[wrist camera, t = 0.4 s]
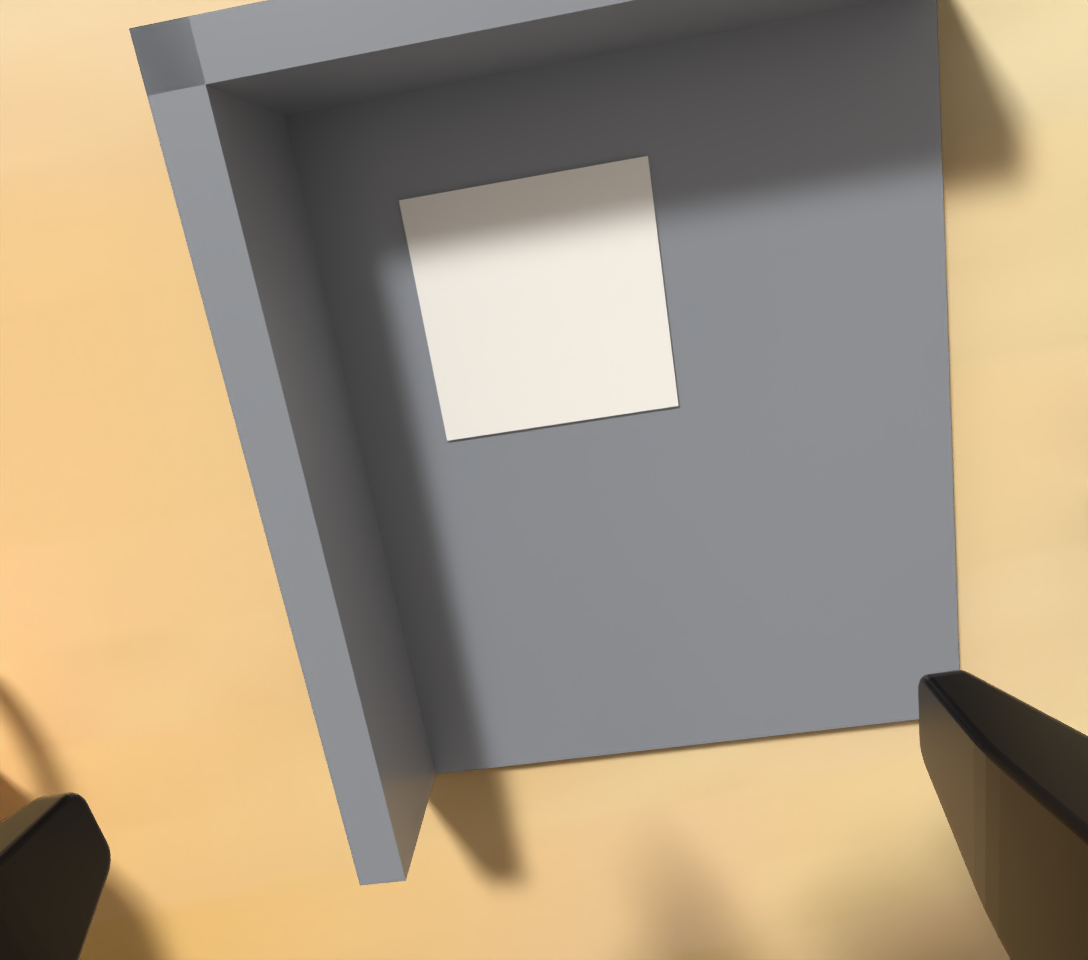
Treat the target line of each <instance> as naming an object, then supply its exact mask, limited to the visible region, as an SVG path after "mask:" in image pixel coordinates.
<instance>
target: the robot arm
mask: <svg viewBox="0 0 1088 960" xmlns="http://www.w3.org/2000/svg"><path fill="white" fill-rule="evenodd" d="M918 704H919V734H920V747H921V752H922V756H923V760H924V763H925V766H926V768H927V771H928V773H929V776H930V778H931V781H932V783H933V786H934V788H935V790H936V793H937V795H938V798H939V800H940V803H941V805H942V808H943V810H944V812H945V815H946V817H947V820H948V822H949V825H950V827H951V830H952V832H953V834H954V837H955V839H956V842H957V844H958V847H959V849H960V852H961V854H962V857H963V859H964V861H965V864H966V866H967V869H968V871H969V874H970V876H971V879H972V881H973V883H974V886H975V888H976V891H977V893H978V895H979V897H980V900H981V902H982V904H983V907H984V909H985V911H986V913H987V915H988V917H989V919H990V921H991V923H992V925H993V927H994V929H995V931H996V933H997V935H998V937H999V939H1000V941H1001V942H1002V944H1003V946H1004V948H1005V950H1006V952H1007V954H1008V955H1009V957H1010V959H1011V960H1088V736H1087V735H1085V734H1083V733H1081V732H1079V731H1077V730H1075V729H1073V728H1072V727H1070V726H1068V725H1066V724H1064V723H1062V722H1060V721H1059V720H1057V719H1055V718H1053V717H1051V716H1049V715H1047V714H1045V713H1044V712H1042V711H1040V710H1038V709H1036V708H1034V707H1032V706H1030V705H1029V704H1027V703H1025V702H1023V701H1021V700H1019V699H1017V698H1015V697H1014V696H1012V695H1010V694H1008V693H1006V692H1004V691H1002V690H1000V689H999V688H997V687H995V686H993V685H991V684H989V683H987V682H986V681H984V680H982V679H980V678H978V677H976V676H974V675H972V674H971V673H968V672H966V671H963V670H954V671H947V672H940V673H933V674H926V675H924V676H923V677H922V678H921V679H920V681H919V685H918ZM110 862H111V858H110V849H109V846H108V843H107V841H106V839H105V837H104V835H103V833H102V832H101V830H100V828H99V826H98V824H97V822H96V820H95V818H94V816H93V814H92V812H91V810H90V808H89V806H88V804H87V802H86V801H85V799H84V798H83V797H81V796H80V795H79V794H76V793H64V794H57V795H49V796H44V797H40V798H37V799H35V800H34V801H32V802H30V803H29V804H27V805H26V806H24V807H23V808H21V809H20V810H18V811H17V812H15V813H14V814H12V815H11V816H9V817H8V818H6V819H5V820H3V821H2V822H0V960H79V957H80V954H81V951H82V948H83V945H84V942H85V939H86V936H87V934H88V931H89V928H90V925H91V922H92V919H93V916H94V913H95V910H96V907H97V905H98V902H99V899H100V896H101V893H102V890H103V887H104V884H105V881H106V878H107V876H108V872H109V869H110Z"/></svg>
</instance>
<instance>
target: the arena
mask: <svg viewBox="0 0 1088 960" xmlns="http://www.w3.org/2000/svg"><path fill="white" fill-rule="evenodd" d="M129 30H130V34H131V37H132V41H133V45H134V48H135V52H136V56H137V60H138V63H139V67H140V71H141V74H142V78H143V82H144V85H145V89H146V93H147V97H148V100H149V104H150V108H151V111H152V115H153V119H154V123H155V126H156V130H157V134H158V137H159V141H160V145H161V149H162V152H163V156H164V160H165V163H166V167H167V171H168V175H169V178H170V182H171V186H172V189H173V193H174V197H175V201H176V204H177V208H178V212H179V215H180V219H181V223H182V226H183V230H184V234H185V238H186V241H187V245H188V249H189V252H190V256H191V260H192V264H193V267H194V271H195V275H196V278H197V282H198V286H199V290H200V293H201V297H202V301H203V304H204V308H205V312H206V316H207V319H208V323H209V327H210V330H211V334H212V338H213V341H214V345H215V349H216V353H217V356H218V360H219V364H220V367H221V371H222V375H223V379H224V382H225V386H226V390H227V393H228V397H229V401H230V405H231V408H232V412H233V416H234V419H235V423H236V427H237V431H238V434H239V438H240V442H241V445H242V449H243V453H244V457H245V460H246V464H247V468H248V471H249V475H250V479H251V482H252V486H253V490H254V494H255V497H256V501H257V505H258V508H259V512H260V516H261V520H262V523H263V527H264V531H265V534H266V538H267V542H268V546H269V549H270V553H271V557H272V560H273V564H274V568H275V572H276V575H277V579H278V583H279V586H280V590H281V594H282V597H283V601H284V605H285V609H286V612H287V616H288V620H289V623H290V627H291V631H292V635H293V638H294V642H295V646H296V649H297V653H298V657H299V661H300V664H301V668H302V672H303V675H304V679H305V683H306V687H307V690H308V694H309V698H310V701H311V705H312V709H313V713H314V716H315V720H316V724H317V727H318V731H319V735H320V738H321V742H322V746H323V750H324V753H325V757H326V761H327V764H328V768H329V772H330V776H331V779H332V783H333V787H334V790H335V794H336V798H337V802H338V805H339V809H340V813H341V816H342V820H343V824H344V828H345V831H346V835H347V839H348V842H349V846H350V850H351V854H352V857H353V861H354V865H355V868H356V872H357V876H358V879H359V883H360V885H368V884H378V883H388V882H398V881H406V878H407V874H408V871H409V867H410V864H411V860H412V856H413V853H414V849H415V846H416V842H417V839H418V835H419V832H420V828H421V824H422V821H423V817H424V814H425V810H426V807H427V803H428V799H429V796H430V792H431V789H432V785H433V782H434V778H435V775H436V774H442V773H450V772H459V771H468V770H477V769H486V768H494V767H503V766H512V765H521V764H530V763H538V762H547V761H556V760H565V759H574V758H582V757H591V756H600V755H609V754H618V753H626V752H635V751H644V750H653V749H662V748H670V747H679V746H688V745H697V744H706V743H714V742H723V741H732V740H741V739H750V738H758V737H767V736H776V735H785V734H794V733H802V732H811V731H820V730H829V729H837V728H846V727H855V726H864V725H873V724H881V723H890V722H899V721H908V720H917V719H919V704H918V685H919V681H920V679H921V678H922V677H923V676H924V675H926V674H933V673H940V672H947V671H954V670H959V644H958V615H957V585H956V556H955V526H954V497H953V467H952V438H951V408H950V379H949V349H948V320H947V290H946V260H945V231H944V201H943V172H942V142H941V113H940V83H939V54H938V24H937V0H267V1H262V2H257V3H252V4H247V5H242V6H237V7H232V8H228V9H223V10H218V11H213V12H208V13H203V14H198V15H193V16H188V17H183V18H179V19H174V20H169V21H164V22H159V23H154V24H149V25H144V26H139V27H135V28H130V29H129Z"/></svg>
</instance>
